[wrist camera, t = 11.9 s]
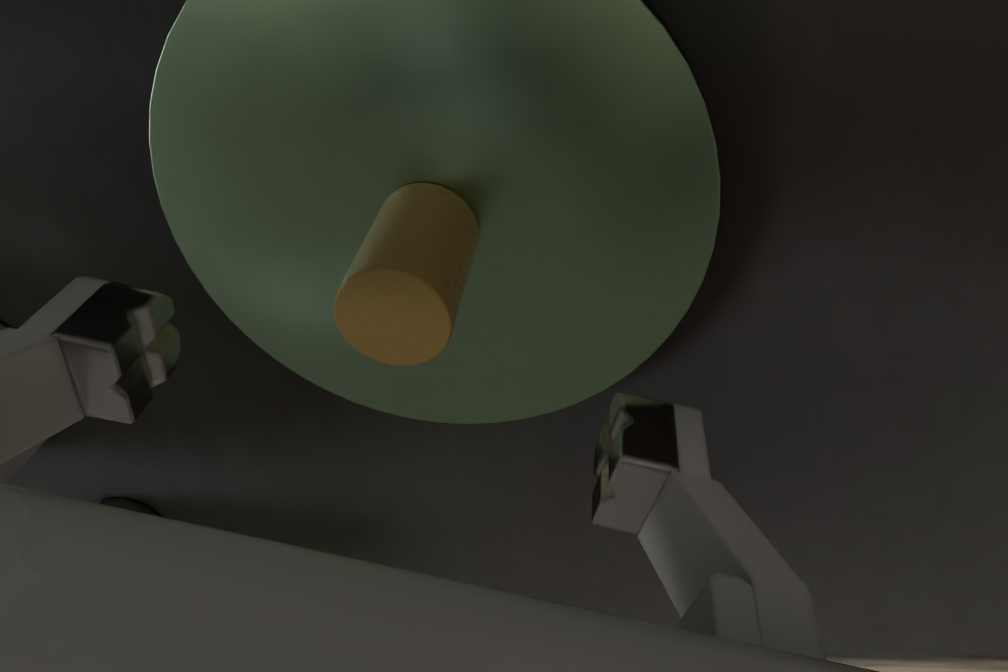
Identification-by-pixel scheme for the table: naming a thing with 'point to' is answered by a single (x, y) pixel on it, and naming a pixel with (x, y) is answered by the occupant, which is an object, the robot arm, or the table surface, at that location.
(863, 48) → the table surface
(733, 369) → the table surface
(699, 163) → the tin lid
